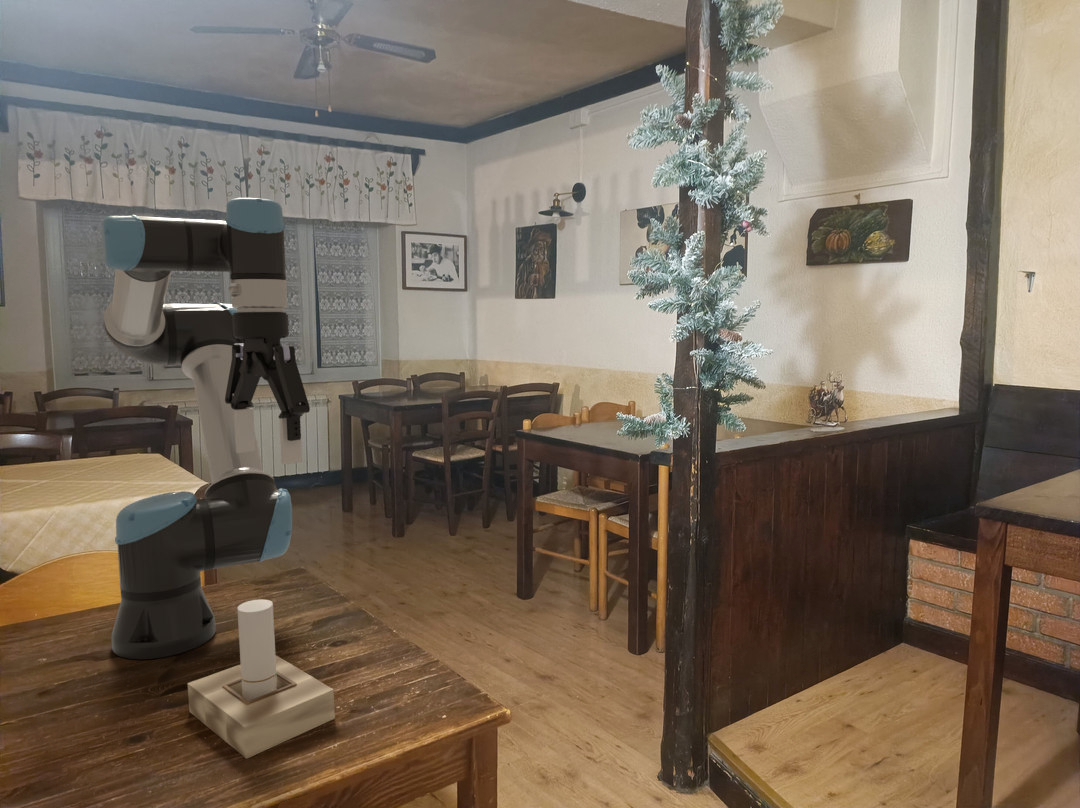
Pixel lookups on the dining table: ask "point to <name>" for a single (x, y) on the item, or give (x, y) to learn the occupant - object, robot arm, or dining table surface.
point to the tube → (257, 648)
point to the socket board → (261, 707)
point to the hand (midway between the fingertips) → (267, 457)
